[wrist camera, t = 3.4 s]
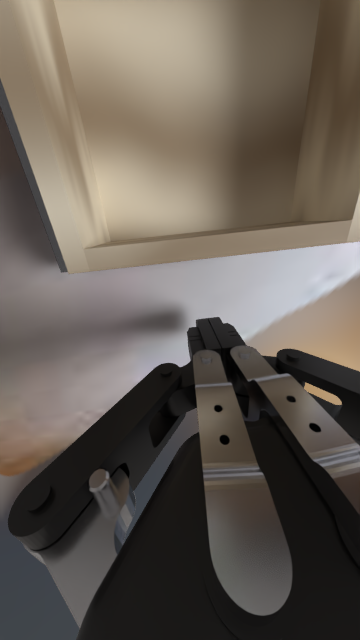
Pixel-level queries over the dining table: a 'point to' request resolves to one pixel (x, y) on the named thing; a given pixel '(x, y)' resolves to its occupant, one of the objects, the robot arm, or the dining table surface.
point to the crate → (187, 124)
